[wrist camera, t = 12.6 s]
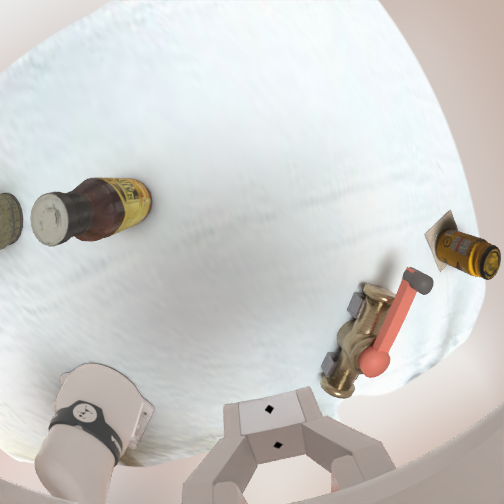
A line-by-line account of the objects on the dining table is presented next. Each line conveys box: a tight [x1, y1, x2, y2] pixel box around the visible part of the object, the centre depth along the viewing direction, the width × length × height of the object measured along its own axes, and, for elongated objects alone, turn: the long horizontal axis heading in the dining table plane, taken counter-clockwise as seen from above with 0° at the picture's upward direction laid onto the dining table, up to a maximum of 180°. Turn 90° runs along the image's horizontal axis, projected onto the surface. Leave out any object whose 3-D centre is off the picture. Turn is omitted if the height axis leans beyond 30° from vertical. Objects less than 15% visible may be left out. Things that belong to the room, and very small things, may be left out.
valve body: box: [320, 284, 396, 399], centre depth 41 cm, size 18×6×7 cm, turn 163°
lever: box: [358, 267, 433, 378], centre depth 34 cm, size 4×16×4 cm, turn 163°
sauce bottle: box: [31, 178, 152, 246], centre depth 27 cm, size 6×6×20 cm
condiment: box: [425, 210, 501, 280], centre depth 37 cm, size 7×8×12 cm
